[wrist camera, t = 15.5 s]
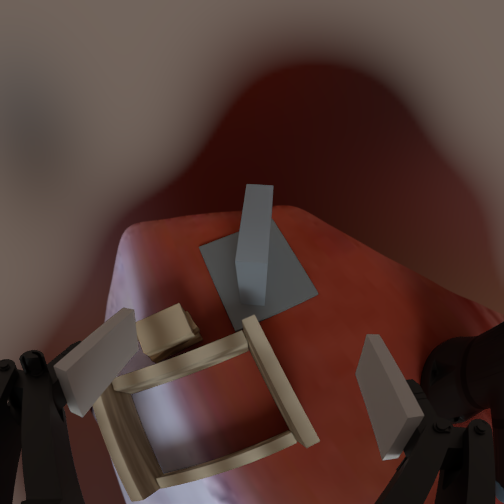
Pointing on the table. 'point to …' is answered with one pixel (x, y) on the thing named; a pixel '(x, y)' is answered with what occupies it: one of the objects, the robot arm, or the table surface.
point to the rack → (120, 389)
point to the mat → (278, 278)
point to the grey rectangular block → (254, 244)
